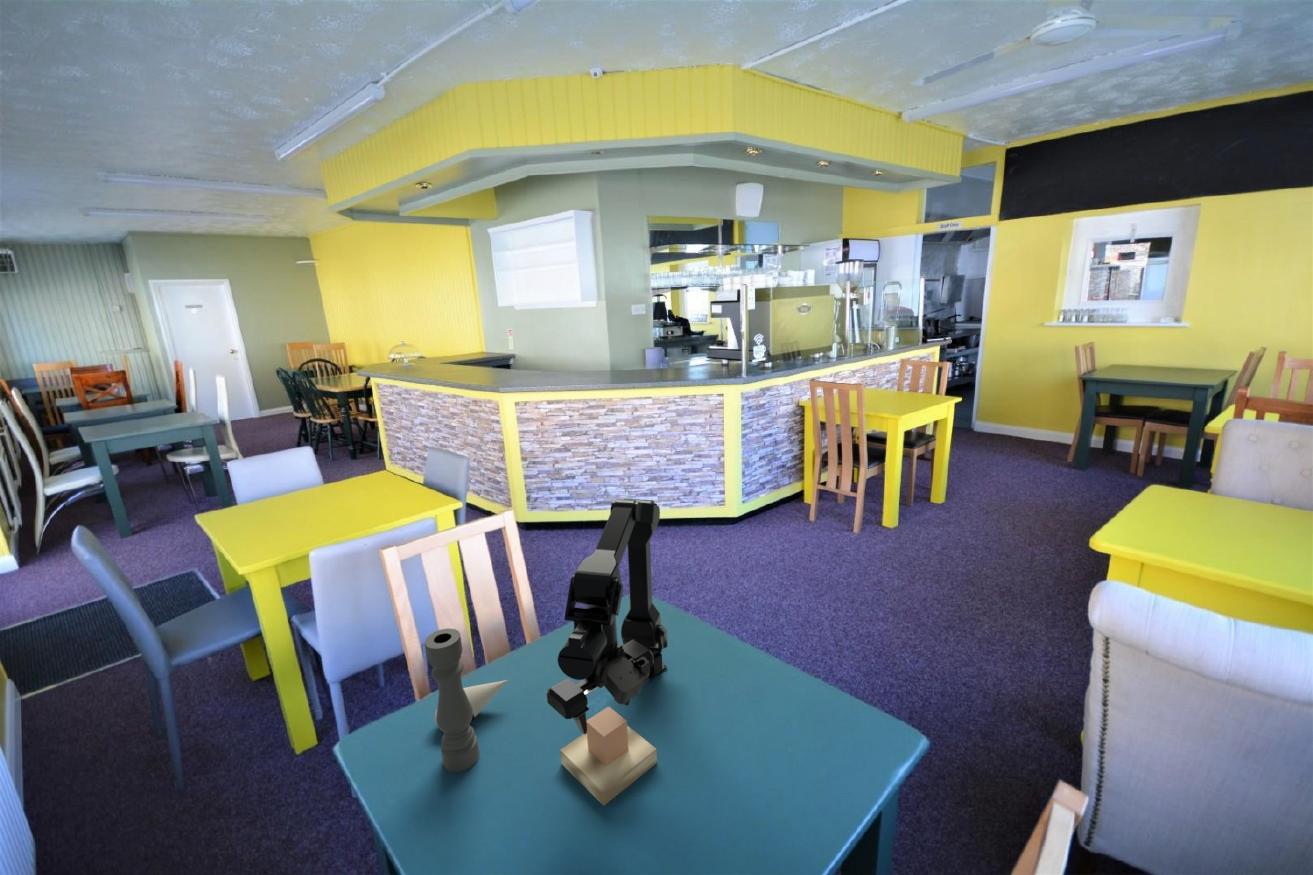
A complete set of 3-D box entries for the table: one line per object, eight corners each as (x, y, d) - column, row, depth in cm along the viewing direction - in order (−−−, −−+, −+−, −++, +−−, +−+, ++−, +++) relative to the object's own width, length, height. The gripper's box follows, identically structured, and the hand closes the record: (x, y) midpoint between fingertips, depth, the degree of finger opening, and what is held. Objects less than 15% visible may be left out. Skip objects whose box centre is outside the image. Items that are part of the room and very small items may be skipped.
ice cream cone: (514, 696, 118) (442, 739, 111) (502, 670, 121) (430, 710, 114) (515, 689, 113) (440, 733, 106) (502, 662, 116) (427, 703, 109)
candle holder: (486, 757, 104) (468, 636, 97) (454, 778, 99) (433, 654, 93) (468, 739, 108) (450, 623, 101) (437, 760, 103) (416, 639, 97)
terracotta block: (588, 749, 101) (585, 721, 99) (610, 733, 104) (608, 706, 102) (606, 765, 97) (603, 736, 95) (628, 749, 100) (626, 720, 99)
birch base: (561, 763, 102) (560, 749, 101) (613, 726, 109) (612, 713, 109) (603, 805, 93) (602, 791, 92) (657, 762, 101) (656, 748, 100)
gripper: (583, 690, 83) (590, 778, 87) (674, 634, 95) (677, 713, 99) (541, 657, 90) (549, 738, 95) (630, 609, 103) (634, 683, 107)
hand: (605, 718), depth 99 cm, fingers open, 9 cm apart
